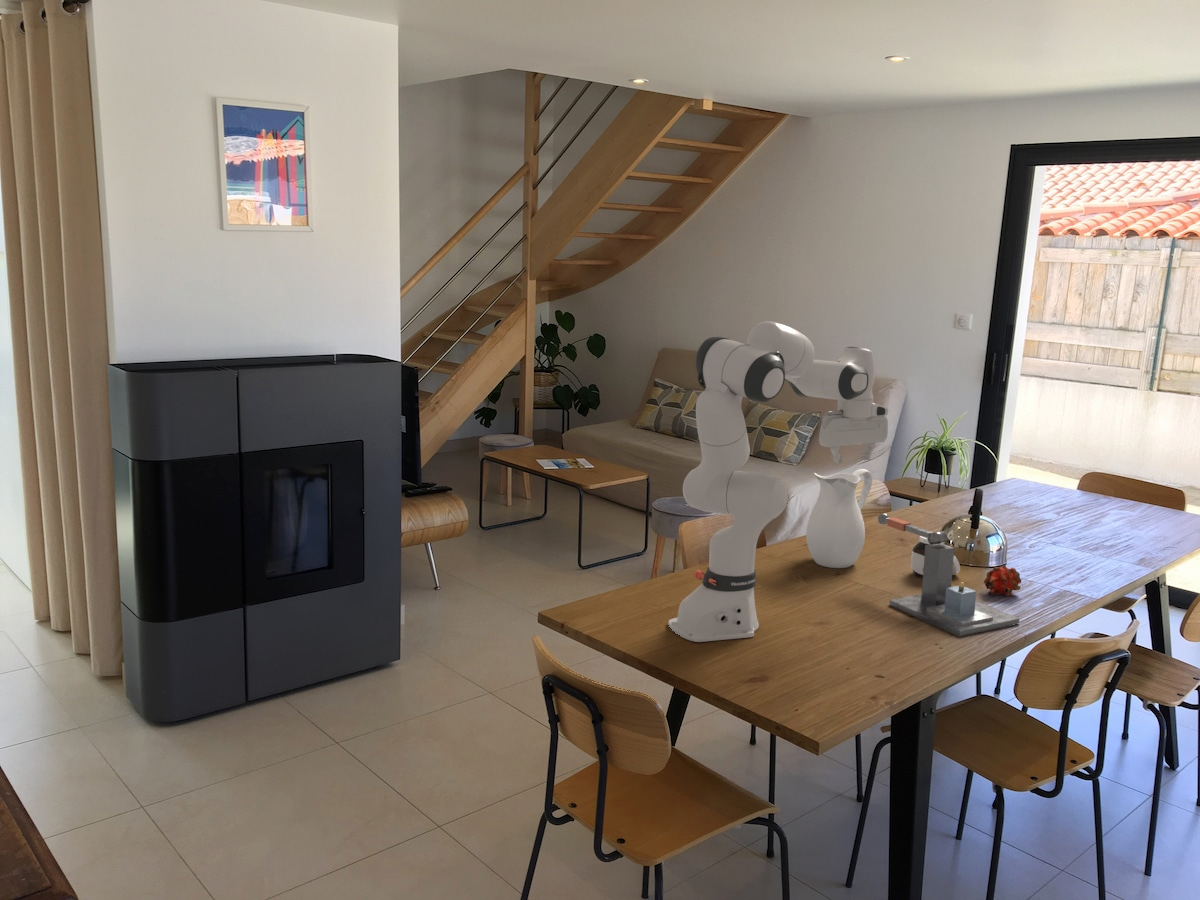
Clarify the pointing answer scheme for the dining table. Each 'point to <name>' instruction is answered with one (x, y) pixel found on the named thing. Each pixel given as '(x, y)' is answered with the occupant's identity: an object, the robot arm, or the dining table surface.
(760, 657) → the dining table surface
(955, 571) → the spread jar
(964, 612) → the block
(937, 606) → the stand
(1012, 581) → the dragon fruit
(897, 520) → the lever
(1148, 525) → the dining table surface
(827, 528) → the pitcher
